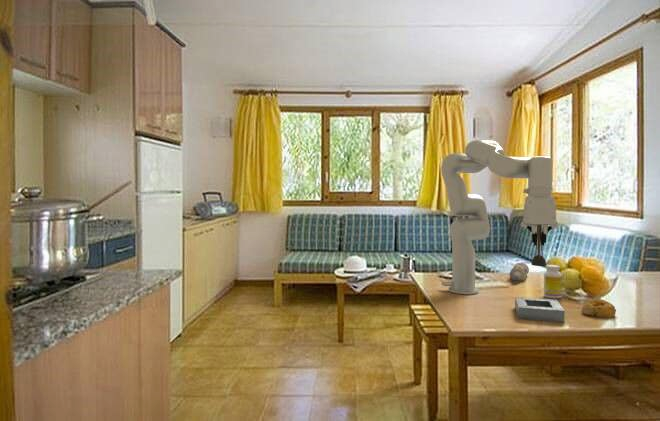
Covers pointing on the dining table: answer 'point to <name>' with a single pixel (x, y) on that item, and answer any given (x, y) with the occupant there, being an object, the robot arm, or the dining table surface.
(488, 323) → the dining table surface
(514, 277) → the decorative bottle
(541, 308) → the tray
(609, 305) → the bagel
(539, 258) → the wooden tabletop sculpture
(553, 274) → the supplement bottle
